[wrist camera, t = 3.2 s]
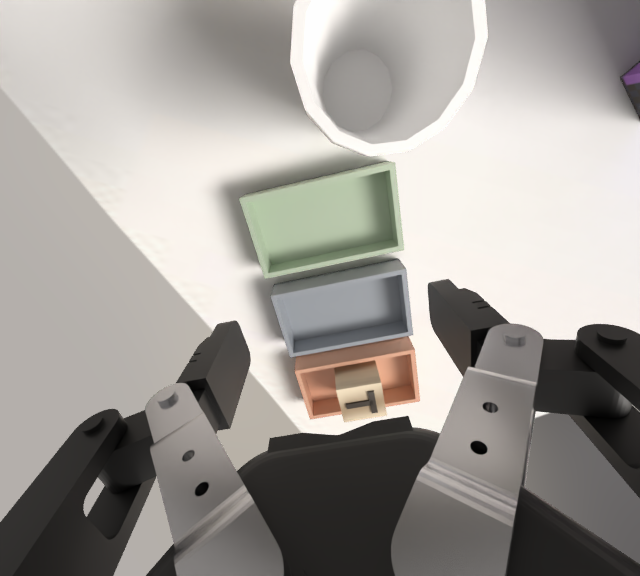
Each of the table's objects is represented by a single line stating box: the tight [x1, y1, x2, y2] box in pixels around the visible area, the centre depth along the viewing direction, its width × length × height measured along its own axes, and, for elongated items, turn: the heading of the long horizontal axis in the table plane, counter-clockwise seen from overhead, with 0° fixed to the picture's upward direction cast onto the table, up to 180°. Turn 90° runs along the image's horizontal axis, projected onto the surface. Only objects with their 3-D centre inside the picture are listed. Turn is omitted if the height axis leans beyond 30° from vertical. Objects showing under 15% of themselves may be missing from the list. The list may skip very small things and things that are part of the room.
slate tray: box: [271, 259, 413, 358], centre depth 34 cm, size 8×14×3 cm, turn 102°
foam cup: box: [290, 0, 488, 156], centre depth 20 cm, size 10×9×13 cm
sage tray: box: [239, 161, 404, 279], centre depth 29 cm, size 8×14×3 cm, turn 102°
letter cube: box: [334, 360, 387, 422], centre depth 36 cm, size 5×5×5 cm
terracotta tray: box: [295, 336, 420, 419], centre depth 38 cm, size 8×14×3 cm, turn 102°
